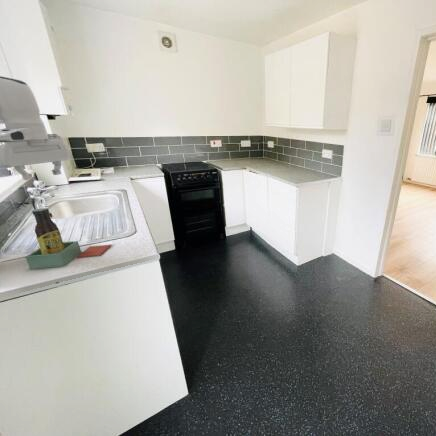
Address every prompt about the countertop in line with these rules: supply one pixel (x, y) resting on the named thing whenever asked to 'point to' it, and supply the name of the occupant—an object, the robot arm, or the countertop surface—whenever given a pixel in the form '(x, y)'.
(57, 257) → the green open tray
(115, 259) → the countertop surface
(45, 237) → the sauce bottle
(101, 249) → the drying mat
